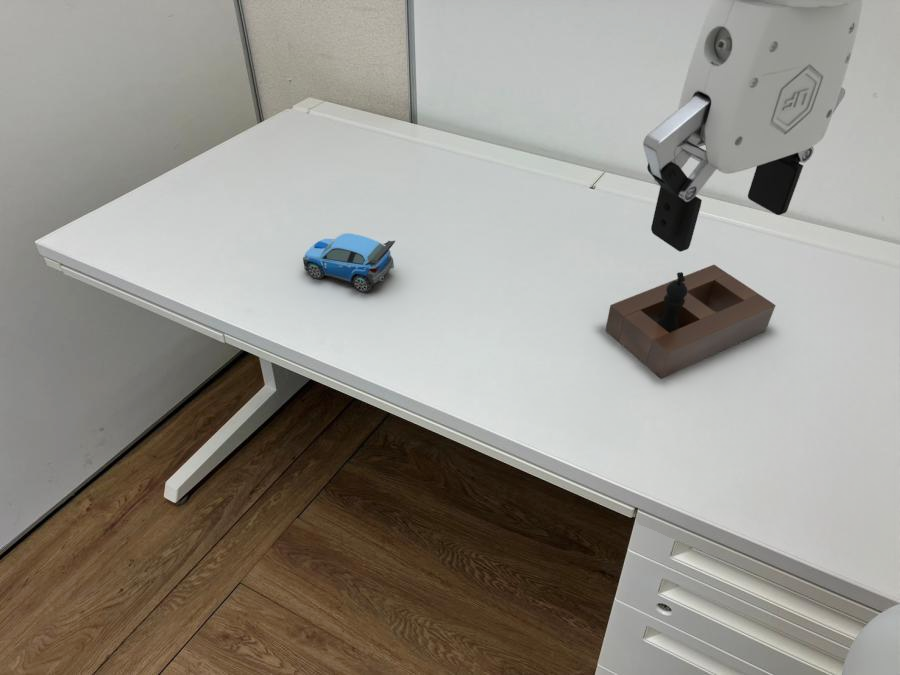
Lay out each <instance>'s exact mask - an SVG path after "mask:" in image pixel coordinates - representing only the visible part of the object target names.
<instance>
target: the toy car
mask: <svg viewBox="0 0 900 675" xmlns="http://www.w3.org/2000/svg"><path fill="white" fill-rule="evenodd" d="M395 243H396V240H388V241H387V242H385V243H381V242H380V241H377V240H375V239H373V238H370V237H368V236H364V235H361V234H355V233H351V232H350V233H349V232H348V233H347V232H346V233H342V234H340V235H337V237H335V238H323V239H320V240H319V241H317V242H315V243H314V244H312V245H311V247H309V249H308V250H306V252H305V253H304V256H303V257H302V262H303V268H304V270H305V271H307V272H308V274H309V275H310V277H312V278H314V279H317V280H320V279H322V278H323V277H328V278H331V279H334V280H338V281H341V282H345V283H348V284H353V286H354V287H355V289H357V290H358V291H359V292H361V293H367V292H370V290H371V289H372V287H373V286H375V285H377V284H378V283H379V282H383V281H384V280H385V276H386V275H387V273H388V272H390V270H392V269H394V268H395V264H394V258H393V257H392V255H391V253H392V252H391V250H390V249H391V248H392V247H393V246H394V244H395Z"/></svg>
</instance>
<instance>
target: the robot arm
mask: <svg viewBox="0 0 900 675" xmlns="http://www.w3.org/2000/svg"><path fill="white" fill-rule="evenodd" d="M863 1H864V0H712V1H711V3H710V5H709V7H708V10H707V13H706V15H705V19H704V21H703V24H702V26H701V28H700V32H699V35H698V38H697V41H696V44H695V47H694V50H693V53H692V56H691V59H690V62H689V66H688V70H687V72H686V77H685V80H684V83H683V86H682V92H681V95H680V99H679V103H678V108H677V110H676V111H674V112H673V113H672V114H670V115H669V116H668V117H667V118H666V119H664V121H662V122H661V123H660V124H659V125H658V126H656V127H655V128H654V129H652V130H651V131H650V132H649V133H647V135H646V136H645V137H644V139H643V141H642V144H643V145H642V146H643V149H644V153H645V158H646V161H647V166H646V168H647V171H648V173H649V174H650V175H651V176H652V177H653V179H654V184H656V185H657V186H659V191H658V196H657V199H656V204H655V208H654V213H653V218H652V223H651V226H650V230H651V233H652V234H653V235H654V236H655V237H657V238H658V239H660V240H661V241H663V242H664V243H666V244H667V245H669V246H670V247H671V248H673V249H675V250H676V251H678V252H679V253H681V252H683V251H688V250H689V248H690V246H691V243H692V239H693V236H694V232H695V228H696V224H697V221H698V217H699V215H700V214H699V213H700V210H701V207H702V199H701V198H699V197H698V196H697V195H698V194H699V193H700V191H701V190H702V189H703V187H705V185H706V184H707V182H708V181H709V180H710V178H711V177H712V176H713V174H715V172H716V170H717V171H719V172H721V173H723V174H727V175H728V174H735V173H739V172H743V171H746V170H749V169H752V168H755V171H754V174H753V177H752V181H751V183H750V187H749V189H748V193H747V199H748V200H749V201H751V202H753V203H755V204H756V205H758V206H760V207H762V208H764V209H765V210H767V211H769V212H771V213H772V214H774V215H777V216H781V215H784V214H786V213H787V212H788V210H789V206H790V204H791V201H792V198H793V196H794V193H795V191H796V188H797V185H798V182H799V180H800V176H801V174H802V171H803V168H804V164H805V163H807V162H808V161H809V160H810V159H811V158H812V156H813V154H814V150H815V149H814V146H816V145H817V144H818V143H820V142H821V141H822V140H823V139H824V137H825V135H826V132H827V131H828V128H829V125H830V122H831V120H832V117H833V114H834V113H835V111H836V110H837V108H838V106H839V105H840V103H841V102H842V101H843V99H844V97H845V96H846V95H845V94H846V89H845V88H843V87H842V86H843V83H844V80H845V77H846V74H847V70H848V67H849V63H850V59H851V56H852V53H853V49H854V45H855V42H856V37H857V34H858V33H857V32H858V29H859V24H860V19H861V13H862V9H863ZM704 146H705V149H703V148H702V147H704ZM690 158H691V159H693V160H694V161H697V162H698V164H697V165H696V166H695V168H694V169H693V171H691V173H690V174H689V176H687V174H685V172H684V171H683V167H684V166H685V165H686V164H687V163H688V161H689V160H690ZM841 675H900V603H898V604H895V605H893V606H890V607H889V608H887V609H885V610H884V611H882V612H880V613H878V614H877V615H875V617H873V618H872V619H871V620H869V622H867V624H866V625H865V626H864V627H863V628H862V629H861V630H860V631H859V633H858V634H857V635H856V636H855V638H854V639H853V642H852V643H851V645H850V647H849V649H848V652H847V654H846V657H845V660H844V663H843V667H842V670H841Z"/></svg>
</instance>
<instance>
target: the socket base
mask: <svg viewBox="0 0 900 675" xmlns="http://www.w3.org/2000/svg"><path fill="white" fill-rule="evenodd" d="M683 276H684V278H685V281H684V282H683V283H684V284H685V286H686V287H687V295H686V296H685V297H684V299H685V303H684V305H683V306H682V307H681V308H680V309H679V310H678V312H677V316H676V319H677V323H678V327H679V329H677V330H675V331H672V332H670V333H669V332H667V331H666V330H665V329H664V328H662V327H661V326H660V325H659V324H657V321H658V320H659V319H661V318H662V316H663V315H664V313H665V310H666V306H665V303H664V297H665V295H666V294H667V291H666V289H667V286H668V285H669V284H670V283H672V282H673V281H678V278H676V279H673V280H671V281H668V282H666V283H663V284H660V285H657V286H655V287H652V288H650V289H648V290H645V291H643V292H640V293H638V294H635V295H632V296H630V297H627V298H625V299H622V300H619V301H617V302H614V303H612V304H610V305H609V311H608V315H607V320H606V325H605V332H606V333H607V334H609V335H610V336H611V337H612V338H613V339H614V340H616V341H617V343H619V344H620V345H621V346H623V347H624V348H625V350H627V351H628V352H629V353H631V354H632V355H633V356H634V357H635V358H636V359H637V360H639V361H640V362H641V363H642V364H644V366H646V367H647V369H649V370H650V371H652V372H653V373H654V375H656V376H657V377H658V378H660V379H661V380H662V379H665V378H666V377H668V376H671V375H673V374H674V373H677V372H679V371H682V370H684V369H686V368H688V367H691V366H692V365H694V364H697V363H699V362H701V361H703V360H705V359H708V358H710V357H712V356H714V355H716V354H718V353H721V352H724V351H725V350H727V349H729V348H731V347H734V346H735V345H738V344H741V343H742V342H744V341H747V340H749V339H750V338H751V339H752V338H754V337H756V336H757V335H759V334H762V333H764V332H766V331H767V328H768V326H769V324H770V321H771V319H772V316H773V314H774V311H775V308H776V304H775V303H773V302H772V301H770V300H769V299H767V298H766V297H764V296H762V294H759V293H758V292H756V291H755V290H754V289H753V288H751V287H749V286H747V285H746V284H745V283H743V282H741V281H740V280H739V279H737V278H736V277H734V276H732V275H731V274H729V273H728V272H726V271H725V270H723V269H722V268H721V267H718V266H717V265H716V264H712V265H709V266H706V267H704V268H701V269H699V270H696V271H693V272H691V273H688V274H686V275H683ZM681 282H682V281H681Z"/></svg>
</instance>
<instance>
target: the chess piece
mask: <svg viewBox="0 0 900 675" xmlns="http://www.w3.org/2000/svg"><path fill="white" fill-rule="evenodd" d="M676 276H677V279H678V281H673V280H672V281H673V282H672V283H670V284H669V285H668V286H667V289H666V291H667V294H666V295H665V297H664V303H665V306H666V310H665V313H664V315H663V316H662V318H661V319H659V320H658V321H657V324H659V325H660V326H661V327H662V328H664V329H665V330H666V331H667V332H669V333H670V332H672V331H675V330H677V329H679V327H678V323H677V319H676V316H677V312H678V310H679V309H680V308H681V307H682V306H683V305H684V303H685V299H684V297H685V296H686V295H687V287H686V286H685V284H684V283H683V282H684V281H685V278H684V276H685V275H684V272H682V271H681V272H677V273H676ZM681 281H682V282H681Z"/></svg>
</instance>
